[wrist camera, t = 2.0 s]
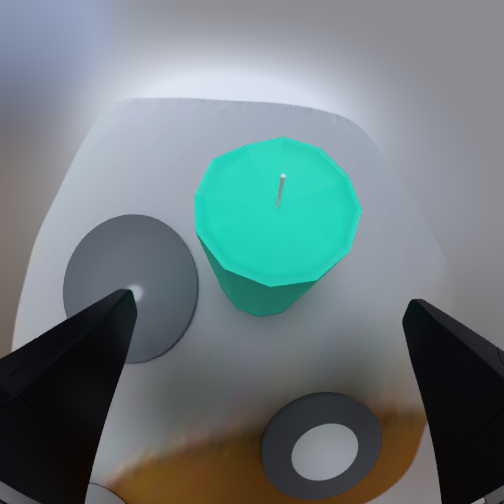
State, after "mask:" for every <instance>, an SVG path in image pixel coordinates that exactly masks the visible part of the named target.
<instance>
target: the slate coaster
mask: <svg viewBox="0 0 504 504" xmlns="http://www.w3.org/2000/svg"><path fill="white" fill-rule="evenodd" d="M120 288H122V289H130V290H132V291H133V294H134V298H135V302H136V306H137V311H138V315H137V320H136V324H135V327H134V331H133V335H132V339H131V343H130V347H129V351H128V355H127V358H126V361H125V364H126V363H138V362H143V361H147V360H150V359H153V358H155V357H157V356H159V355H161V354H163V353H164V352H166V351H167V350H168V349H170V348H171V347H172V346H173V345H174V344H175V343H176V342H177V341H178V340H179V339H180V337H181V336H182V335H183V334H184V332H185V331H186V329H187V327H188V325H189V324H190V321H191V319H192V316H193V314H194V310H195V307H196V302H197V295H198V279H197V272H196V268H195V264H194V261H193V259H192V256H191V254H190V252H189V250H188V248H187V247H186V245H185V243H184V242H183V241H182V239H181V238H180V236H179V235H178V234H177V233H176V232H175V231H174V230H173V229H172V228H170V227H169V226H168V225H166V224H165V223H163V222H161V221H159V220H157V219H155V218H152V217H149V216H144V215H135V214H133V215H123V216H118V217H115V218H112V219H109V220H107V221H105V222H103V223H101V224H100V225H98V226H97V227H95V228H94V229H93V230H92V231H90V232H89V233H88V234H87V235H86V236H85V237H84V238H83V239H82V241H81V242H80V243H79V245H78V246H77V247H76V249H75V251H74V252H73V254H72V256H71V258H70V261H69V263H68V266H67V269H66V273H65V277H64V285H63V301H64V308H65V312H66V316H67V319H68V318H70V317H72V316H73V315H75V314H77V313H78V312H80V311H82V310H83V309H85V308H87V307H88V306H90V305H92V304H94V303H95V302H97V301H99V300H100V299H102V298H104V297H106V296H107V295H109V294H111V293H113V292H114V291H116V290H118V289H120Z"/></svg>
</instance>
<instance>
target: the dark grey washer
mask: <svg viewBox="0 0 504 504" xmlns="http://www.w3.org/2000/svg"><path fill="white" fill-rule="evenodd" d="M381 443H382V433H381V428H380V424H379V422H378V420H377V418H376V416H375V415H374V414H373V413H372V411H371V410H370V409H368V408H367V407H366V406H365V405H363V404H361V403H359V402H357V401H355V400H353V399H351V398H349V397H347V396H344V395H341V394H338V393H331V392H321V393H314V394H309V395H306V396H303V397H300V398H298V399H296V400H294V401H292V402H291V403H289V404H287V405H286V406H285V407H283V408H282V409H281V410H280V411H279V412H278V413H277V414H276V415H275V416H274V417H273V418H272V419H271V421H270V422H269V424H268V425H267V427H266V429H265V432H264V434H263V438H262V444H261V453H262V461H263V466H264V470H265V473H266V476H267V477H268V479H269V481H270V482H271V483H272V484H273V485H274V486H275V487H276V488H277V489H278V490H280V491H281V492H283V493H285V494H287V495H289V496H292V497H296V498H300V499H322V498H327V497H331V496H334V495H337V494H340V493H342V492H344V491H346V490H348V489H349V488H351V487H353V486H354V485H355V484H357V483H358V482H359V481H360V480H362V479H363V478H364V477H365V476H366V475H367V473H368V472H369V471H370V470H371V468H372V467H373V465H374V464H375V462H376V460H377V458H378V455H379V452H380V448H381Z"/></svg>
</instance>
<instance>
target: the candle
mask: <svg viewBox="0 0 504 504" xmlns="http://www.w3.org/2000/svg"><path fill="white" fill-rule="evenodd" d="M361 212H362V209H361V206H360V203H359V201H358V198H357V196H356V193H355V191H354V188H353V186H352V183H351V181H350V179H349V176H348V175H347V174H346V173H345V172H344V171H343V170H342V169H341V168H340V167H339V166H338V165H337V164H336V163H335V162H334V161H333V160H332V159H331V158H330V157H329V156H328V155H327V154H326V153H325V152H324V151H323V150H322V149H321V148H319V147H316V146H313V145H309V144H306V143H303V142H300V141H296V140H293V139H290V138H286V137H279V138H275V139H270V140H266V141H261V142H257V143H252V144H248V145H244V146H242V147H240V148H237V149H235V150H232V151H230V152H228V153H225V154H223V155H221V156H219V157H216V158H214V159H212V161H211V163H210V165H209V167H208V169H207V171H206V173H205V175H204V177H203V179H202V181H201V183H200V185H199V187H198V189H197V192H196V194H195V226H196V233H197V236H198V238H199V240H200V242H201V244H202V247H203V249H204V251H205V253H206V255H207V258H208V260H209V262H210V264H211V266H212V268H213V270H214V273H215V275H216V277H217V279H218V281H219V283H220V285H221V287H222V290H223V291H224V292H225V294H226V295H227V296H228V297H229V299H230V300H231V301H232V303H233V304H234V305H235V306H236V308H238V309H241V310H243V311H246V312H248V313H251V314H253V315H256V316H264V315H270V314H277V313H281V312H283V311H284V310H285V309H286V308H287V307H289V306H290V305H291V304H292V303H294V302H295V301H296V300H297V299H298V298H299V297H301V296H302V295H303V294H304V293H305V292H306V291H307V290H308V289H310V288H311V287H312V286H313V285H314V284H315V283H316V282H317V281H318V280H319V279H321V278H322V277H323V276H324V275H325V274H326V273H327V272H328V271H329V270H330V269H331V268H332V267H333V266H335V265H336V264H337V263H338V262H339V261H340V260H341V259H342V258H343V257H344V256H345V255H346V254H347V253H348V252H349V251H350V249H351V246H352V243H353V239H354V236H355V233H356V229H357V226H358V222H359V219H360V215H361Z"/></svg>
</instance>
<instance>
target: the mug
mask: <svg viewBox="0 0 504 504" xmlns="http://www.w3.org/2000/svg"><path fill="white" fill-rule="evenodd" d="M85 504H126V503H125V502H124V501H123V500H121V499H120V498H119V497H118V496H117V495H115V494H114V493H112V492H111V491H109V490H107V489H105V488H103V487H101V486H98V485H95V484H90V483H89V485H88V490H87V494H86V499H85Z"/></svg>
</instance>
